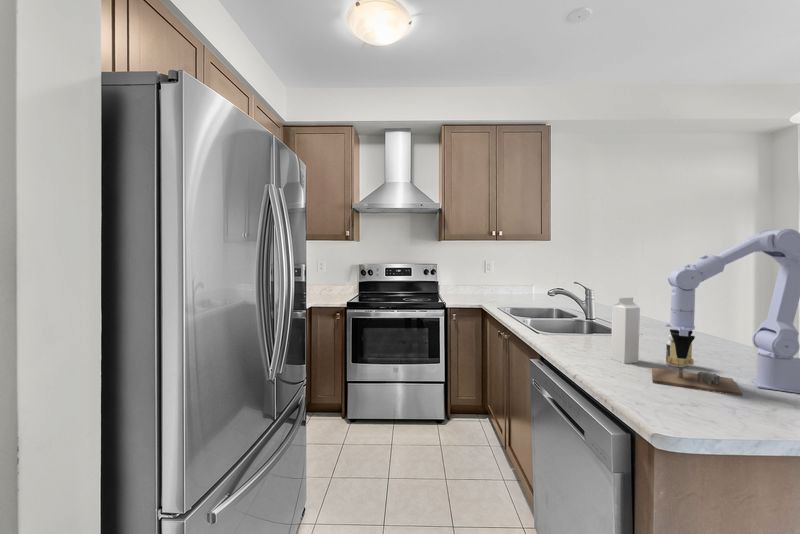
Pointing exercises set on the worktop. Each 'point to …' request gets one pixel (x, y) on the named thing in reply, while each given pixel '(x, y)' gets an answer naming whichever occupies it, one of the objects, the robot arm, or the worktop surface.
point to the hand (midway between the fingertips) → (680, 356)
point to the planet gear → (681, 361)
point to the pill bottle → (669, 353)
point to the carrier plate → (695, 380)
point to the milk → (625, 331)
